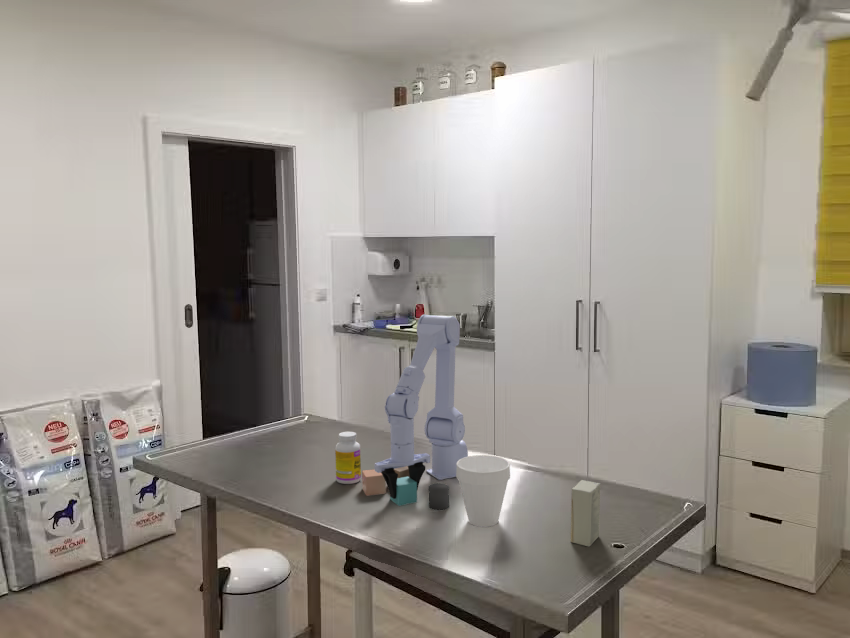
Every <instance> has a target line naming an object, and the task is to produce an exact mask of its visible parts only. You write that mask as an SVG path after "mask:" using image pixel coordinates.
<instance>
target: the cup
mask: <svg viewBox="0 0 850 638" xmlns="http://www.w3.org/2000/svg"><path fill="white" fill-rule="evenodd" d="M456 465H457V470H456V477H455V478H456V479H457V480H458V482H459V489H460V492H461V496H462V500H463V503H464V508H465V511H466V516H467V520H468V523H469V524H470V525H472V526H476V527H478V528H479V527H482V528H488V527H493V526H496V525H497V524H498V523H499V520H500V517H501V516H500V515H501V512H502V508H503V503H504V500H505V499H504V498H505V494H506V491H507V487H508V486H507V485H508V482H509V480H510V479H511V466H510V465H511V463H510V461H509V460H507V459H505V458H503V457H501V456H500V457H499V456H497V455H496V456H495V455H489V454H486V455H485V454H480V455H478V454H477V455H469V456H468V457H464V458H462V459H460V460H459V461H457V463H456Z"/></svg>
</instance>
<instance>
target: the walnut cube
mask: <svg viewBox="0 0 850 638" xmlns="http://www.w3.org/2000/svg"><path fill="white" fill-rule="evenodd" d="M394 470H395V473H397V474H398V477H397V478H402V477H407V476H408V477H410V476H409V469H408V466H405V467H400V468H395V469H394Z"/></svg>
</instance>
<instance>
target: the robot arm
mask: <svg viewBox="0 0 850 638" xmlns="http://www.w3.org/2000/svg"><path fill="white" fill-rule="evenodd" d="M460 324H461V323H460V322H459V321H458V318H456V316H454V315H450V316H448V315H447V316H446V315H431V314H430V315H429V314H427V313H426V314H422V315H421V316H420V317H419V318H418V320H417V324H416V335H417V341H416V345H415V348H414V351H413V355H412V358H411V360H410V363H409V365H408V366H406V367H405V368H403V370H402V373H401V375H400V377H399V380H398V382H397V385H396V387H395V389H394V392H393V393H391V394H389V396H387V398H386V401H385V405H384V411H385V414H386V416H387V422H388V424H389V428H390V429H389V431H390V457H389V458H386V459H383V460H382V461H378V462H374V469H375V471H376V472H377V473H382V475H383V477H384V479H385V483H386V485H387V486H386V487H387V489H388V493H389V498H390V497H392V498H393V499H395V498H396V495H397V490H396V485H397V477H398V474H397V473H395V470H394V469H395V468H400V467H405V466H408V469H409V476H410V478H411V479H412V480H414V481H415V482H417V490H418V488H419V484H420V481H421V479H422V477H423V474H424V473H425V472H427V474H429V475H430V476H432V477H434V478H435V479H437V480H438V481H441V480H448V479H453V478H457V477H456V470H457V465H456V463H457V461H459V460H460V459H462V458H464V457H468V455H469V452H468V451H469V450H468V445H467V443H466V442H465V440H463V439H464V436H465V434H466V433H465V432H466V427H465V423H464V414H463V413H462V412H460V411H459V409H457V408H456V407H455V384H456V383H455V382H456V381H455V379H456V378H455V376H456V375H455V374H456V373H455V372H456V350H457V349H456V347H457V346H459V345H460V336H461V335H460V331H461V325H460ZM434 349H436V350H435V351H436V357H435V358H436V362H435V391H434V392H435V393H434V394H435V396H434V407H433V408H431V409H430V410H429V411H428V412H427V413H426V419H425V423H424V429H423V430H424V435H425V438H426V439H428V440H429V442H428V443H431V455H430V454H429V453H427V452H424V453H418V454H416V453H415V434H414V432H415V431H414V430H415V427H414V425H415V424H414V423H415V422H414V417H416V416H417V415H416V414H417V413H418V410H419V401H420V396H419V394H420V391H421V388H422V387H423V384H424V381H425V378H426V375H425V373H424V369H425V367H426V365H427V363H428V361H429V360H430V358H431V355H432V353H433V351H434ZM424 463H426V464H429V463H431V468H428V469H426V465H424Z"/></svg>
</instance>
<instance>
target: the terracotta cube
mask: <svg viewBox="0 0 850 638" xmlns="http://www.w3.org/2000/svg"><path fill="white" fill-rule="evenodd" d="M361 480H362V481H361V483H362V486H361V487H362V490H363V492H364V494H365V496H368V497H369V496H376V495H385V494H386V493H387V492H386V490H387V489H386V488H387V486H386V485H387V483H386V481H385V479H384V477H383V475H382V473H377V472H376V471H375V468H374V469H367V470H366V469H364V470H361Z"/></svg>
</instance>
